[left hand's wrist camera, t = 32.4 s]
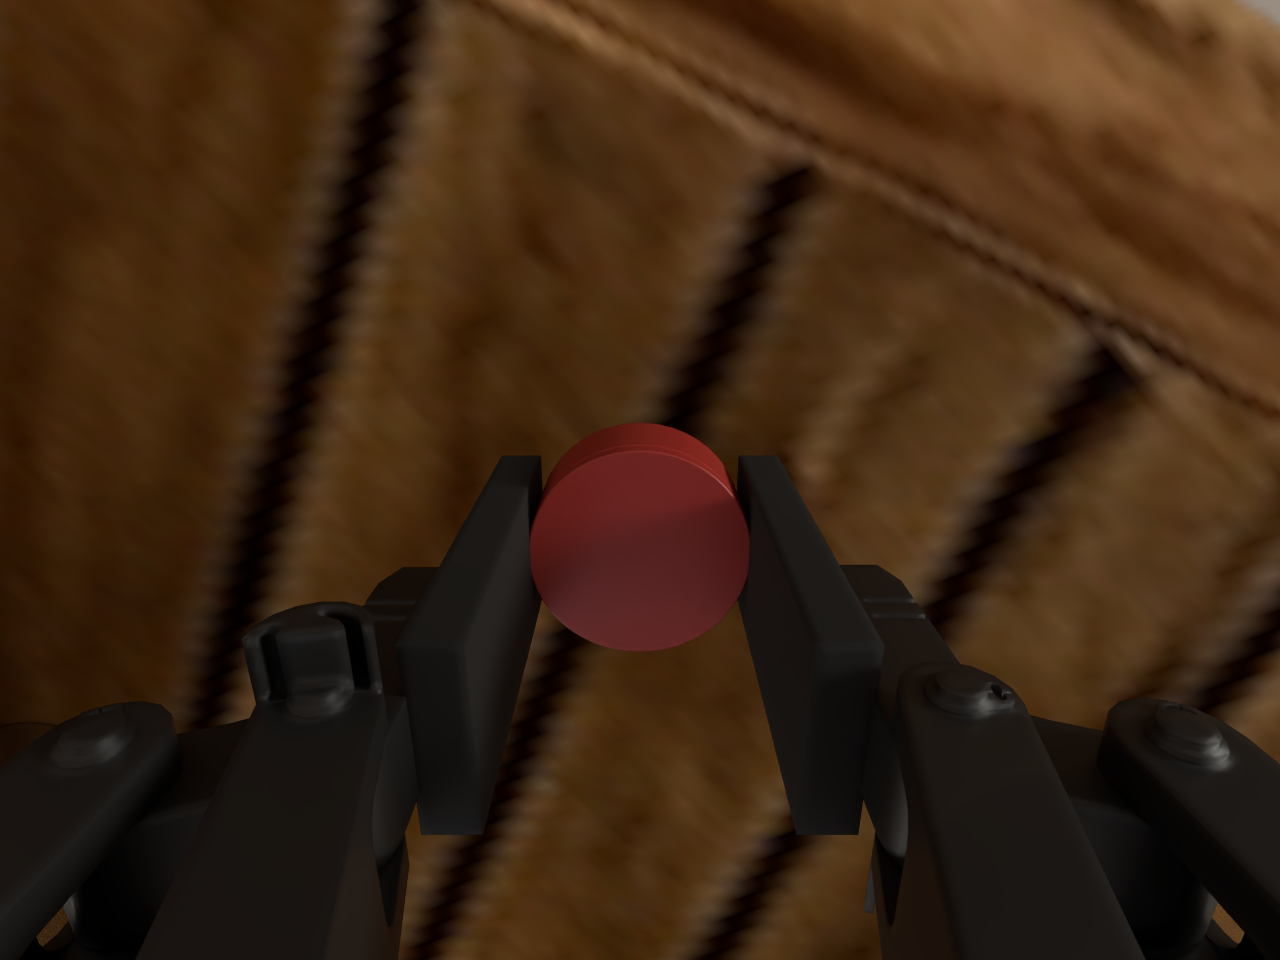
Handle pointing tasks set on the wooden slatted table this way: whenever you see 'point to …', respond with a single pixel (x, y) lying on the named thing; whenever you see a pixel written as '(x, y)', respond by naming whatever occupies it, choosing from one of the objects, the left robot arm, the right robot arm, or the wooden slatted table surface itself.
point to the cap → (639, 539)
